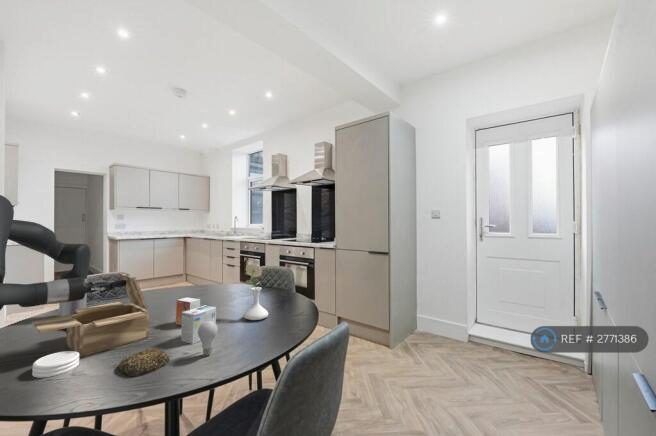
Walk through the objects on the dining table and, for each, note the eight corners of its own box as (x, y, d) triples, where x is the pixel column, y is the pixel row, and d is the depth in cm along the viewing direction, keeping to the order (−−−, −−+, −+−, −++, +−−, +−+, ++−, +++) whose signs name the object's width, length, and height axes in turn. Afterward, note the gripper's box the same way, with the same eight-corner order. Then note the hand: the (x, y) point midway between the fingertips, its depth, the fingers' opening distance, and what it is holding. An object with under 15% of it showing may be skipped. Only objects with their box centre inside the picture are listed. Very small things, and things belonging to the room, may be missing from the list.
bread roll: (127, 381, 78) (127, 363, 78) (115, 366, 86) (115, 350, 86) (176, 364, 88) (177, 348, 88) (161, 352, 96) (161, 337, 96)
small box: (175, 324, 122) (176, 299, 122) (186, 320, 127) (186, 296, 127) (189, 327, 119) (189, 301, 119) (199, 323, 124) (200, 298, 124)
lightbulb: (204, 361, 90) (205, 325, 90) (193, 356, 93) (194, 322, 93) (221, 353, 95) (221, 320, 95) (209, 349, 98) (210, 317, 98)
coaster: (23, 381, 77) (24, 368, 77) (42, 365, 86) (43, 353, 86) (71, 374, 81) (71, 362, 81) (84, 359, 90) (84, 348, 90)
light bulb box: (204, 331, 114) (204, 304, 115) (216, 334, 111) (217, 306, 112) (180, 341, 105) (181, 311, 105) (192, 344, 102) (193, 314, 102)
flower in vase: (273, 317, 133) (274, 263, 134) (255, 324, 124) (256, 266, 124) (253, 312, 140) (254, 261, 141) (235, 318, 131) (236, 263, 131)
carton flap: (131, 302, 115) (119, 273, 112) (133, 301, 116) (121, 272, 113) (145, 309, 107) (133, 278, 104) (147, 307, 108) (135, 277, 104)
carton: (27, 349, 96) (28, 317, 96) (126, 325, 119) (127, 300, 120) (42, 374, 81) (44, 336, 81) (154, 341, 104) (155, 312, 104)
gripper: (70, 281, 90) (133, 274, 104) (60, 276, 98) (119, 270, 112) (69, 305, 90) (132, 295, 104) (59, 298, 98) (119, 290, 112)
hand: (125, 282), depth 108 cm, fingers closed
